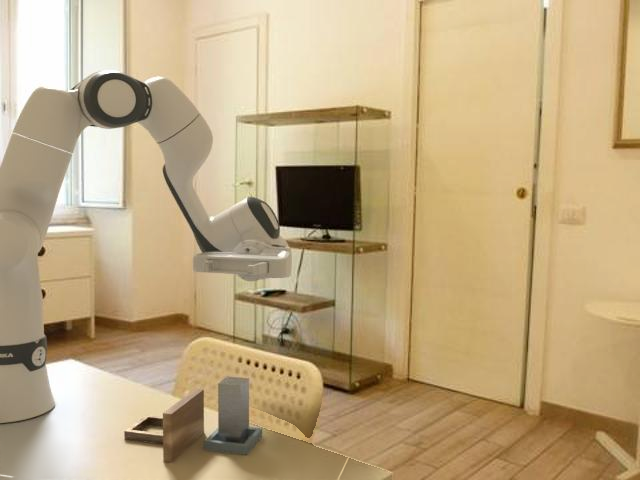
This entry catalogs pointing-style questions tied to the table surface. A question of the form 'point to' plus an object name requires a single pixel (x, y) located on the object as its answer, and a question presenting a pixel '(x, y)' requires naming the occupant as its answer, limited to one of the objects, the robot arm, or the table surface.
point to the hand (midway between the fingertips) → (227, 269)
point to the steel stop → (233, 410)
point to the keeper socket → (231, 447)
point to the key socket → (138, 435)
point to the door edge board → (183, 424)
